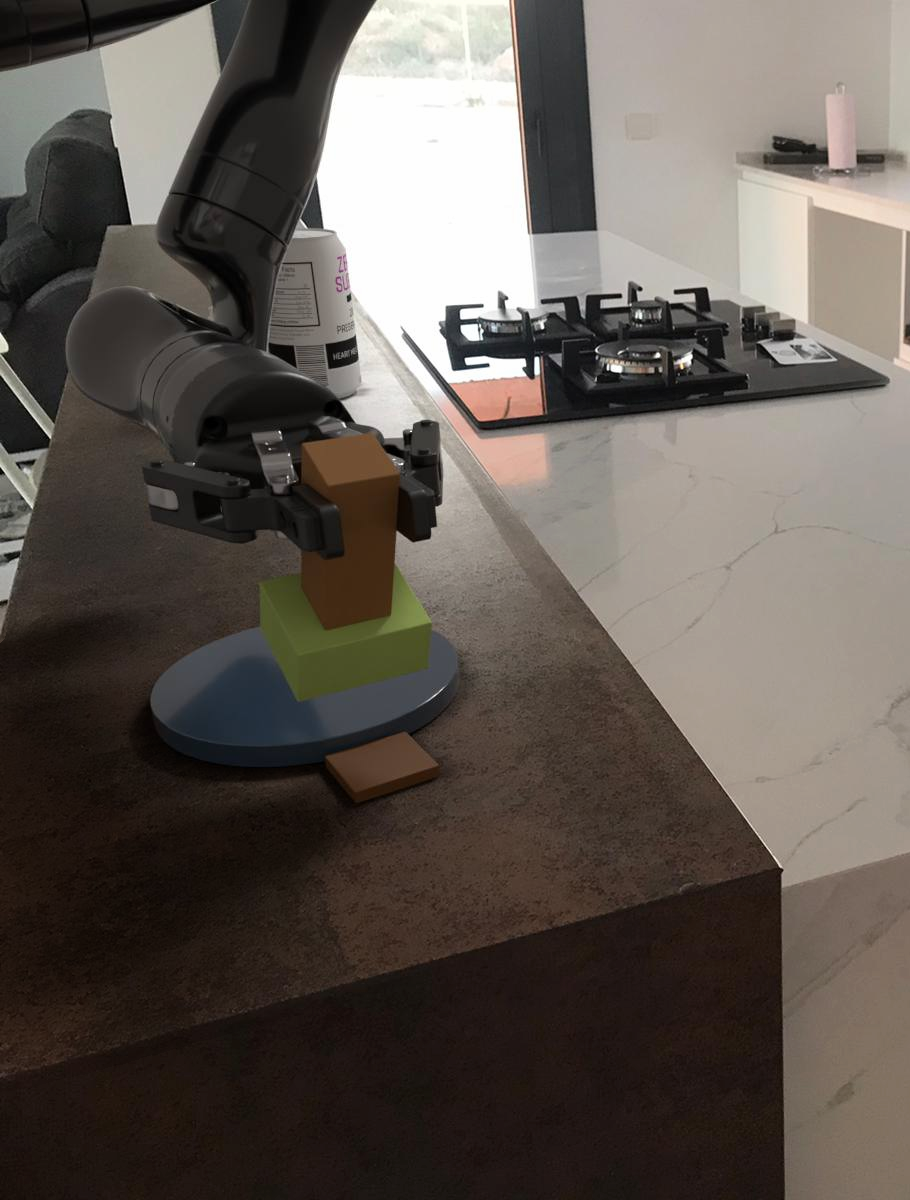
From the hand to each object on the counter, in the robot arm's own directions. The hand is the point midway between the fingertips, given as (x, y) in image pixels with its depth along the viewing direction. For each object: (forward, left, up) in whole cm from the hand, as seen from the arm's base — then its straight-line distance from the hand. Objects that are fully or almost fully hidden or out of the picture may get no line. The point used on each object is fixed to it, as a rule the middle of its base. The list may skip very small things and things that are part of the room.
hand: (378, 526), depth 51 cm
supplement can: (+21, +76, -14) cm, 80 cm away
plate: (0, +14, -13) cm, 19 cm away
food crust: (0, +4, -14) cm, 14 cm away
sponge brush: (0, +6, -8) cm, 10 cm away
